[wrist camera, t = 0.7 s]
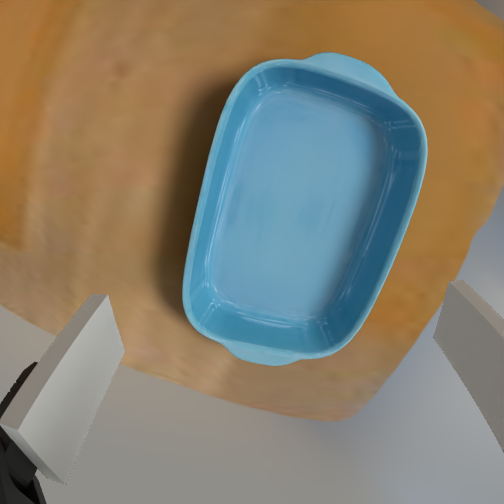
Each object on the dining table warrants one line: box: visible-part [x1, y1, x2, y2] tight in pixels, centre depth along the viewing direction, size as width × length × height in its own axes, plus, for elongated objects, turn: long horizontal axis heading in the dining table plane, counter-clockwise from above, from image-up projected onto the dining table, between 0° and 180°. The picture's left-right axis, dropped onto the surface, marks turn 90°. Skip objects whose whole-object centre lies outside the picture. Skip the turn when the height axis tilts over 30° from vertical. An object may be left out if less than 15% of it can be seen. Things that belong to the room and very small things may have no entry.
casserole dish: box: [182, 52, 427, 366], centre depth 35 cm, size 37×22×7 cm, turn 166°
